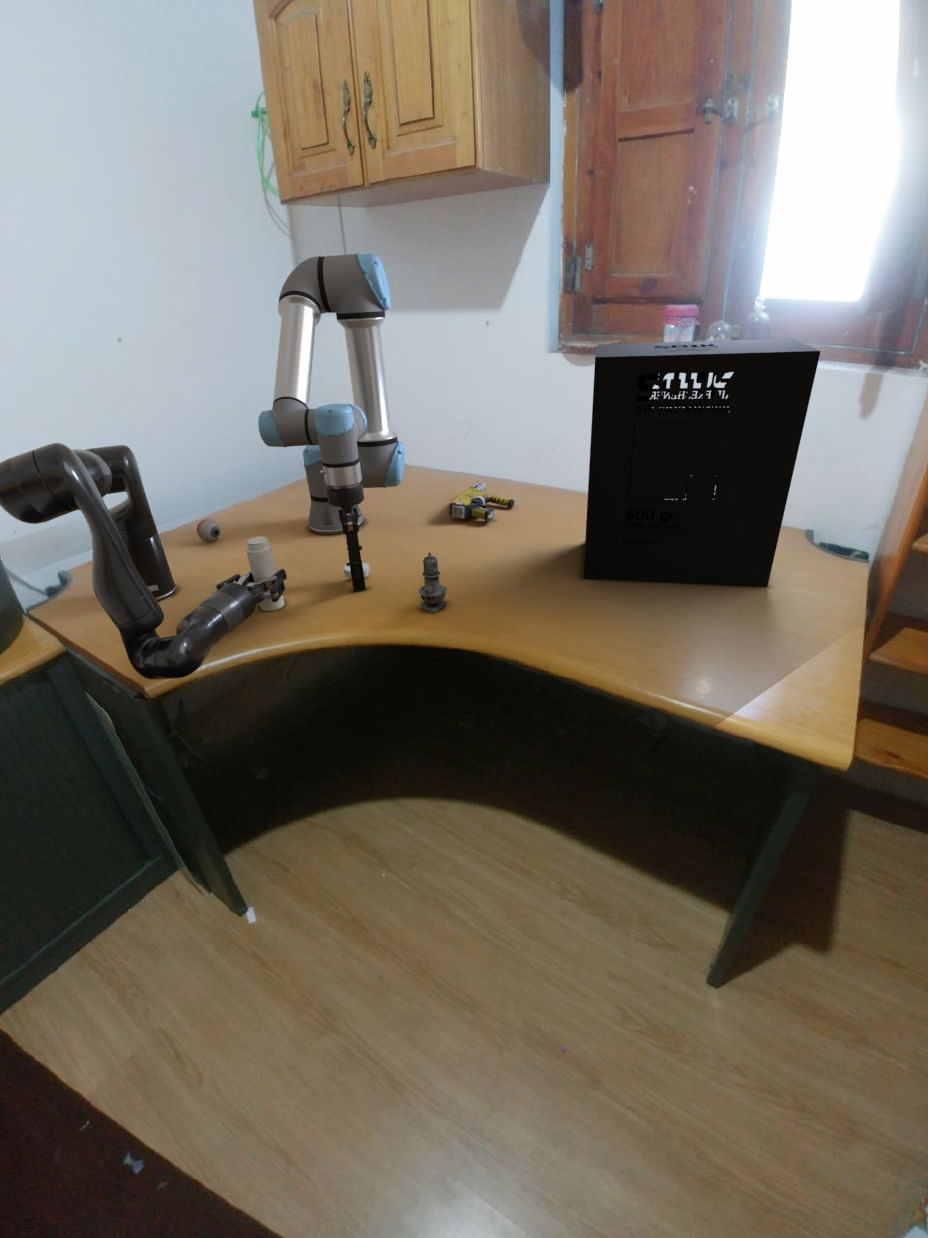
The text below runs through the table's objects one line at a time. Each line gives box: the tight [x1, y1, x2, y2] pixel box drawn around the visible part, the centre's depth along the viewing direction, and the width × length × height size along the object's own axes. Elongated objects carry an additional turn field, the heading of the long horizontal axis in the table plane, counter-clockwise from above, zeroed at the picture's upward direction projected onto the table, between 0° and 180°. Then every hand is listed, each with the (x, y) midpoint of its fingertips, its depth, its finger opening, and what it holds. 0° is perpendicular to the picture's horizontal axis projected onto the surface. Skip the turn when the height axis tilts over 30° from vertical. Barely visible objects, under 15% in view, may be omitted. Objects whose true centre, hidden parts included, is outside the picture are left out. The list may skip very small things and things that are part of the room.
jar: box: [245, 536, 285, 612], centre depth 126 cm, size 5×5×15 cm
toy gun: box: [448, 481, 515, 523], centre depth 173 cm, size 5×24×15 cm
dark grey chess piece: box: [417, 551, 448, 613], centre depth 122 cm, size 6×6×12 cm
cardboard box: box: [583, 337, 821, 587], centre depth 126 cm, size 38×20×45 cm, turn 78°
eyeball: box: [196, 518, 222, 543], centre depth 162 cm, size 6×6×6 cm
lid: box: [343, 561, 371, 580], centre depth 135 cm, size 6×6×2 cm
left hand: (272, 572), depth 128 cm, fingers closed on jar, 5 cm apart
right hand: (358, 584), depth 136 cm, fingers closed on lid, 5 cm apart
